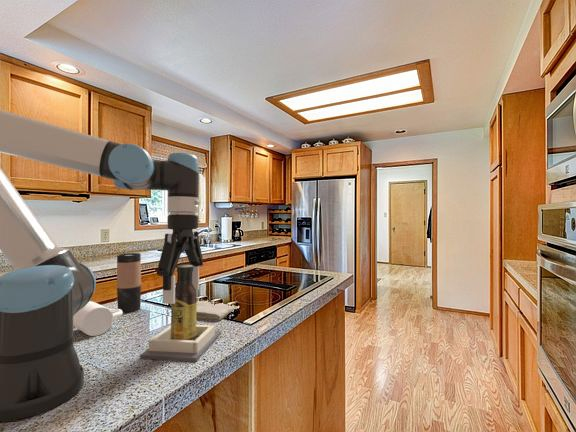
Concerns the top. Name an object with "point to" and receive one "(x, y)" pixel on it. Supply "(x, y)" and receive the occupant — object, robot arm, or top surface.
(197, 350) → the socket plate
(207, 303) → the washcloth
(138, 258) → the travel mug
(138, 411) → the top surface
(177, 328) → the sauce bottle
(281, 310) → the top surface
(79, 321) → the mug
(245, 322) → the top surface
